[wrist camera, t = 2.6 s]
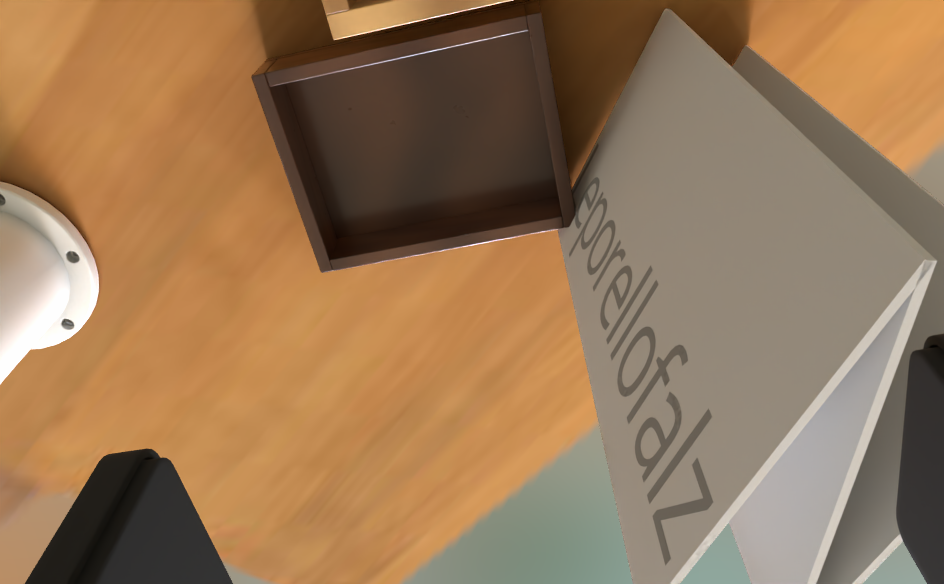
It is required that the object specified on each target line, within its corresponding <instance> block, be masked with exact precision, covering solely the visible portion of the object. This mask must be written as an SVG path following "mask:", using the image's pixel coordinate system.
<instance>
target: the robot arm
mask: <svg viewBox="0 0 944 584" xmlns="http://www.w3.org/2000/svg"><path fill="white" fill-rule="evenodd" d="M98 293H99V276H98V272H97V267H96V263H95V260H94V258H93V255H92V253H91V251H90V249H89V247H88V244H87V243H86V242H85V240H84V239H83V237H82V236H81V234H80V233H79V231H78V230H77V229H76V228H75V226H74V225H73V224H72V223H71V222H70V221H69V220H68V219H67V218H66V217H65V216H64V215H63V214H62V213H61V212H59V211H58V210H57V209H56V208H54V207H53V206H52V205H51V204H49V203H48V202H46V201H45V200H43V199H41V198H40V197H38V196H36V195H34V194H33V193H31V192H29V191H27V190H24V189H22V188H19V187H17V186H14V185H12V184H9V183H4V182H0V384H1V383H2V381H3V380H4V379H5V378H6V377H7V376H8V374H9V373H10V372H11V371H12V370H13V369H14V367H15V366H16V365H17V364H18V363H19V362H20V361H21V359H22V358H23V357H24V356H25V355H26V354H27V352H28V351H29V350H30V349H40V348H45V347H49V346H52V345H56V344H58V343H60V342H62V341H64V340H66V339H68V338H70V337H71V336H72V335H73V334H75V333H76V332H77V331H78V330H79V329H80V328H81V327H82V326H83V325H84V323H85V322H86V321H87V320H88V318H89V317H90V315H91V313H92V311H93V309H94V307H95V305H96V302H97V297H98ZM896 519H897V525H898V529H899V532H900V535H901V538H902V540H903V542H904V544H905V546H906V547H907V549H908V551H909V553H910V554H911V556H912V558H913V560H914V561H915V563H916V565H917V567H918V568H919V570H920V572H921V574H922V575H923V577H924V579H925V580H926V582H927V584H944V334H938V335H932V336H930V337H928V338H927V339H926V341H925V343H924V347H923V349H920V350H915V351H913V352H912V354H911V355H910V360H909V370H908V381H907V392H906V404H905V415H904V426H903V438H902V449H901V460H900V471H899V483H898V494H897V505H896ZM25 584H233V583H232V581H231V579H230V577H229V575H228V573H227V571H226V569H225V567H224V565H223V563H222V561H221V559H220V557H219V555H218V553H217V551H216V549H215V547H214V545H213V543H212V541H211V539H210V537H209V535H208V533H207V531H206V529H205V527H204V525H203V523H202V521H201V519H200V517H199V515H198V513H197V511H196V509H195V507H194V505H193V503H192V501H191V499H190V497H189V495H188V493H187V491H186V489H185V487H184V485H183V483H182V481H181V479H180V477H179V475H178V473H177V471H176V469H175V467H174V465H173V464H172V462H171V461H170V460H169V459H167V458H160V457H159V455H158V454H157V453H156V452H155V451H154V450H152V449H141V450H134V451H127V452H120V453H114V454H108V455H106V456H104V457H103V458H102V459H101V460H100V461H99V463H98V464H97V466H96V468H95V469H94V471H93V473H92V474H91V476H90V477H89V479H88V481H87V482H86V484H85V486H84V487H83V489H82V491H81V492H80V494H79V496H78V497H77V499H76V500H75V502H74V504H73V505H72V508H71V509H70V510H69V512H68V514H67V515H66V517H65V519H64V520H63V522H62V523H61V525H60V527H59V528H58V530H57V532H56V533H55V535H54V537H53V538H52V540H51V542H50V543H49V545H48V547H47V548H46V550H45V551H44V553H43V555H42V556H41V558H40V560H39V561H38V563H37V565H36V566H35V568H34V569H33V571H32V573H31V574H30V576H29V578H28V579H27V581H26V583H25Z"/></svg>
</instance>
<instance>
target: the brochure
mask: <svg viewBox="0 0 944 584" xmlns="http://www.w3.org/2000/svg"><path fill="white" fill-rule="evenodd" d="M572 196H573V202H574V208H575V214H576V215H575V217H574V219H573V221H572V223H571V225H570V227H567V228H562V229H558V234H559V238H560V243H561V248H562V252H563V257H564V262H565V266H566V271H567V276H568V281H569V285H570V290H571V295H572V299H573V304H574V309H575V313H576V318H577V323H578V328H579V332H580V337H581V342H582V346H583V351H584V356H585V360H586V365H587V370H588V374H589V379H590V384H591V389H592V393H593V398H594V403H595V407H596V412H597V417H598V421H599V426H600V431H601V435H602V440H603V445H604V450H605V454H606V458H607V464H608V468H609V473H610V478H611V482H612V487H613V492H614V496H615V501H616V505H617V511H618V515H619V520H620V525H621V529H622V534H623V539H624V543H625V548H626V553H627V557H628V562H629V567H630V572H631V576H632V581H633V584H680V582H681V581H682V580H683V579H684V578H685V576H686V575H687V574H688V573H689V571H690V570H691V569H692V568H693V566H694V565H695V564H696V562H697V561H698V560H699V559H700V557H701V556H702V555H703V554H704V552H705V551H706V550H707V549H708V547H709V546H710V545H711V543H712V542H713V541H714V540H715V539H716V537H717V536H718V535H719V534H720V532H721V531H722V530H723V529H724V527H725V526H726V525H727V524H728V522H729V524H730V527H731V529H732V532H733V535H734V537H735V540H736V543H737V546H738V549H739V551H740V554H741V557H742V559H743V562H744V565H745V568H746V570H747V573H748V576H749V578H750V581H751V584H862V583H863V582H864V581H865V580H866V579H867V578H868V577H869V576H870V575H871V574H872V573H873V572H874V571H875V570H876V569H877V568H878V567H879V566H880V564H881V563H882V562H883V561H884V560H885V559H886V558H887V557H888V556H889V555H890V554H891V553H892V552H893V551H894V550H895V549H896V548H897V547H898V546H899V545H900V544H901V543H902V542H903V540H902V538H901V535H900V532H899V529H898V525H897V519H896V505H897V494H898V483H899V471H900V460H901V449H902V438H903V426H904V415H905V404H906V392H907V381H908V370H909V360H910V355H911V354H912V352H913V351H915V350H920V349H923V347H924V343H925V341H926V339H927V338H928V337H930V336H932V335H938V334H944V204H943V203H941V202H940V201H939V200H938V199H937V198H935V197H934V196H933V195H932V194H930V193H929V192H928V191H927V190H926V189H924V188H923V187H921V186H920V185H919V184H918V183H917V182H915V181H914V180H913V179H912V178H911V177H909V176H908V175H907V174H906V173H905V172H903V171H902V170H901V169H900V168H898V167H897V166H896V165H895V164H893V163H892V162H891V161H890V160H889V159H887V158H886V157H885V156H884V155H882V154H881V153H880V152H879V151H877V150H876V149H875V148H874V147H872V146H871V145H870V144H869V143H868V142H866V141H865V140H864V139H863V138H861V137H860V136H859V135H858V134H856V133H855V132H854V131H853V130H852V129H850V128H849V127H848V126H847V125H845V124H844V123H843V122H842V121H840V120H839V119H838V118H837V117H836V116H834V115H833V114H832V113H831V112H829V111H828V110H827V109H826V108H824V107H823V106H822V105H821V104H819V103H818V102H817V101H816V100H815V99H813V98H812V97H811V96H810V95H808V94H807V93H806V92H805V91H803V90H802V89H801V88H800V87H799V86H797V85H796V84H795V83H794V82H792V81H791V80H790V79H789V78H787V77H786V76H785V75H784V74H782V73H781V72H780V71H779V70H778V69H776V68H775V67H774V66H773V65H771V64H770V63H769V62H768V61H766V60H765V59H764V58H763V57H762V56H760V55H759V54H758V53H757V52H755V51H754V50H753V49H752V48H750V47H749V46H747V45H745V46H744V48H743V49H742V51H741V53H740V54H739V56H738V58H737V60H736V61H735V63H734V65H733V67H731V66H730V65H729V64H728V63H727V62H726V61H725V60H724V59H723V58H722V57H721V56H720V55H719V54H717V53H716V52H715V51H714V50H713V49H712V48H711V47H710V46H709V45H708V44H707V43H706V42H705V41H704V40H703V39H702V38H700V37H699V36H698V35H697V34H696V33H695V32H694V31H693V30H692V29H691V28H690V27H689V26H688V25H687V24H686V23H685V22H684V21H682V20H681V19H680V18H679V17H678V16H677V15H676V14H675V13H674V12H673V11H672V10H671V9H666V8H665V9H664V11H663V13H662V15H661V17H660V19H659V21H658V23H657V25H656V27H655V29H654V31H653V32H652V34H651V36H650V38H649V40H648V42H647V44H646V46H645V48H644V50H643V52H642V54H641V56H640V58H639V60H638V62H637V64H636V65H635V67H634V69H633V71H632V73H631V75H630V77H629V79H628V81H627V83H626V85H625V87H624V89H623V91H622V93H621V95H620V97H619V99H618V100H617V102H616V104H615V106H614V108H613V110H612V112H611V114H610V116H609V118H608V120H607V122H606V124H605V126H604V128H603V130H602V132H601V133H600V135H599V137H598V139H597V141H596V143H595V145H594V147H593V149H592V151H591V153H590V155H589V157H588V159H587V161H586V163H585V165H584V166H583V168H582V170H581V172H580V174H579V176H578V178H577V180H576V182H575V184H574V186H573V188H572Z"/></svg>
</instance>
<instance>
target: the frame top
mask: <svg viewBox="0 0 944 584" xmlns="http://www.w3.org/2000/svg"><path fill="white" fill-rule="evenodd" d="M507 1H512V0H322V4H323V7H324V10H325V14H326V17H327V20H328V24H329V27H330V30H331V34H332V37H333V39H334V40H337V39H342V38H346V37H351V36H355V35H360V34H364V33H369V32H373V31H378V30H382V29H387V28H391V27H396V26H400V25H404V24H409V23H413V22H418V21H422V20H427V19H431V18H436V17H440V16H445V15H449V14H454V13H458V12H463V11H467V10H472V9H476V8H481V7H485V6H490V5H494V4H498V3H503V2H507Z"/></svg>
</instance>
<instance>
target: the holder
mask: <svg viewBox="0 0 944 584" xmlns="http://www.w3.org/2000/svg"><path fill="white" fill-rule="evenodd" d="M252 80H253V83H254V86H255V88H256V91H257V94H258V97H259V100H260V102H261V105H262V108H263V111H264V114H265V116H266V119H267V122H268V125H269V128H270V131H271V133H272V136H273V139H274V142H275V145H276V147H277V150H278V153H279V156H280V159H281V161H282V164H283V167H284V170H285V173H286V175H287V178H288V181H289V184H290V187H291V189H292V192H293V195H294V198H295V201H296V204H297V206H298V209H299V212H300V215H301V218H302V220H303V223H304V226H305V229H306V232H307V234H308V237H309V240H310V243H311V246H312V248H313V251H314V254H315V257H316V260H317V262H318V265H319V268H320V271H321V273H323V272H329V271H335V270H341V269H346V268H352V267H357V266H362V265H368V264H373V263H378V262H384V261H389V260H395V259H400V258H405V257H411V256H416V255H422V254H427V253H432V252H438V251H443V250H448V249H454V248H459V247H465V246H470V245H475V244H481V243H486V242H492V241H497V240H502V239H508V238H513V237H518V236H524V235H529V234H535V233H540V232H545V231H551V230H556V229H562V228H567V227H570V225H571V223H572V221H573V219H574V217H575V215H576V214H575V208H574V202H573V196H572V190H571V184H570V178H569V172H568V167H567V161H566V155H565V149H564V143H563V137H562V131H561V125H560V119H559V114H558V108H557V102H556V96H555V90H554V84H553V78H552V72H551V66H550V61H549V55H548V49H547V43H546V37H545V31H544V25H543V19H542V13H541V9H540V5H539V1H538V0H531V1H527V2H522V3H518V4H513V5H509V6H504V7H500V8H495V9H491V10H486V11H482V12H477V13H473V14H468V15H464V16H460V17H455V18H451V19H446V20H442V21H437V22H433V23H428V24H424V25H419V26H415V27H410V28H406V29H401V30H397V31H392V32H388V33H383V34H379V35H374V36H370V37H365V38H361V39H356V40H352V41H347V42H343V43H338V44H334V45H329V46H325V47H320V48H316V49H311V50H307V51H302V52H298V53H293V54H289V55H284V56H280V57H275V58H271V59H267V60H266V61H265V62H264V63H263V64H262V66H261V67H260V68H259V69H258V70H257V71H256V72H255V73H254V74H253V75H252Z"/></svg>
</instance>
